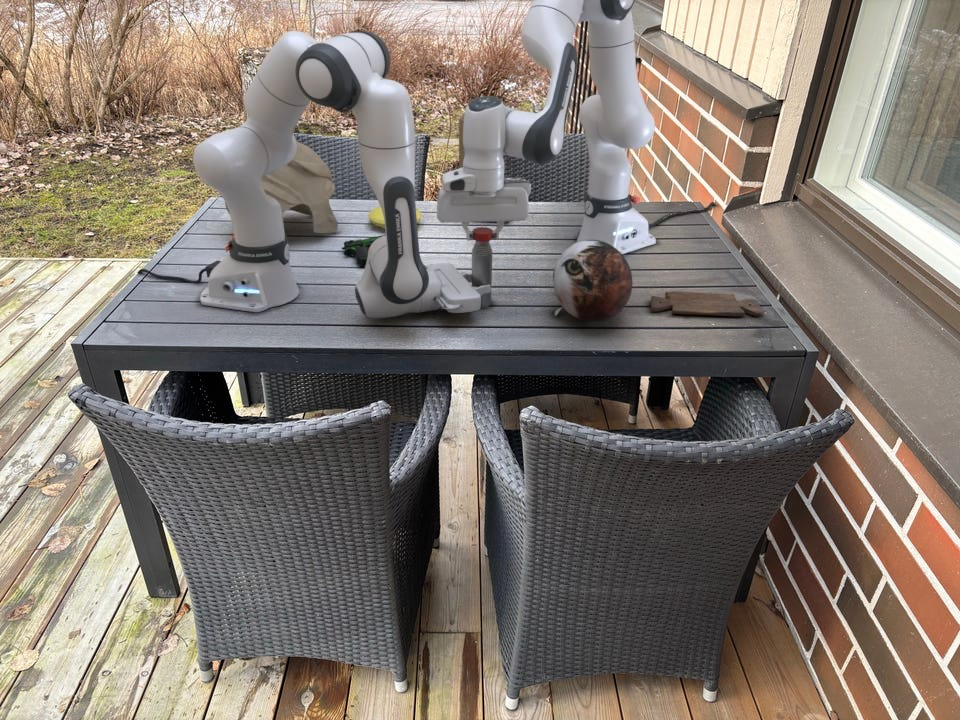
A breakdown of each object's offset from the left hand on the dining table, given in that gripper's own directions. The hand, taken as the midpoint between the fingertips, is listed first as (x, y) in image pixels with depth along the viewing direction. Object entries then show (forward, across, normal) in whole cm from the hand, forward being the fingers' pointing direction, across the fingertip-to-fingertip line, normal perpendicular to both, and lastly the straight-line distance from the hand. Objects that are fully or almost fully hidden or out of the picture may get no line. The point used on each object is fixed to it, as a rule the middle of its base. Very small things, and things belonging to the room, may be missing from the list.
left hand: (484, 282), depth 165 cm
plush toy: (+20, -14, +5) cm, 25 cm away
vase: (-6, +57, +5) cm, 58 cm away
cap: (-1, 0, -12) cm, 12 cm away
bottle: (-1, 0, +5) cm, 5 cm away
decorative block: (+22, +54, +5) cm, 59 cm away
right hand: (-1, 0, -11) cm, 11 cm away
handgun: (-17, +38, +5) cm, 42 cm away
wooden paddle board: (+48, -20, +5) cm, 52 cm away
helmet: (-37, +62, +5) cm, 72 cm away
